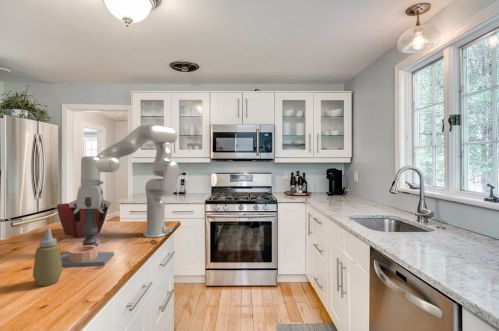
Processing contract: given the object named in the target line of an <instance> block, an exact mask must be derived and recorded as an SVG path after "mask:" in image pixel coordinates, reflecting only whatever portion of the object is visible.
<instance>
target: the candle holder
mask: <svg viewBox="0 0 499 331" xmlns="http://www.w3.org/2000/svg"><path fill="white" fill-rule="evenodd" d="M85 205H86V207H88V208H89V207H91V205H92V202H91V197H85ZM96 211H97V209H85V210H84V212H85V223H84V226H83V230H82V234H83V236H84V237H83V238H84V239H83V241H82V245H81V246H85V245H93V246H97V247H98V245H99V244H98V243H97V242H98V240H97V239H96V235H97V232H98V229H97V225H96V221H95V212H96Z"/></svg>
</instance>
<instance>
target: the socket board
mask: <svg viewBox="0 0 499 331" xmlns="http://www.w3.org/2000/svg"><path fill="white" fill-rule="evenodd" d="M98 251H99V250H98V247H97V246H93V245H85V246H82V245H80V246H76V247H71V248H70V249H69V250H68V253H63V254H61V263H62V268H76V267H77V268H78V267H79V268H80V267H98V266H99V267H104V266H105V265H106V264H107V263H108V262H109V261H110V260H111V259H112V258H113V257H114V255H115V251H104V252H103V251H102V252H101V251H99V252H98Z"/></svg>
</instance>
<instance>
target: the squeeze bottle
mask: <svg viewBox="0 0 499 331" xmlns="http://www.w3.org/2000/svg"><path fill="white" fill-rule="evenodd" d="M51 230H52V229H51V228H47V229H45V231H44V232H45V233H44V237H43V239H41V240H39V246H38V247H37V248H36V249H35V255H34V265H33V270H32V276H33V279H34V282H35V285H36V286H39V287H44V286H45V287H46V286H51V285H54V284H56V283H58V282H59V280H60V277H61V275H62V272H63V267H62V263H61V255H62V254H61V247H60V245H59V244H58V243H57V238H53V235H52V231H51Z"/></svg>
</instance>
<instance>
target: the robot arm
mask: <svg viewBox="0 0 499 331" xmlns="http://www.w3.org/2000/svg"><path fill="white" fill-rule="evenodd" d="M177 139H178V133H177V131H176V130H175V129H174V128H173V127H168V126H164V125H158V124H152V123H151V124H141V125H139V126H137V127H136V128H134V129H133V130H132V131H130V133H128V134H126V136H125V137H124V138H122V139H121V140H119V141H117V142H116V143H114V144H112V145H110V146H108V147H107V148H105V149H104V150H102V151H101V152H100V153H99V154H97V155H96V156H92V155H87V156H86V155H85V156H82V157H81V158H80V160H81V161H80V186H79V187H78V190H77V193H76V194H77V195H76V199H75V200H73V201H71V202H68V203H69V204H68V205H69V206H70V208H71V210H72V211H73V212H74V213H75V220H76V222H79V221H80V218H81V213H80V212H79V211H80V210H81V209H98V210H99V211H100V214H99V222H102V221H103V220H104V212H105V211H106V210H107V209H109V208H110V206H111V205H112V202H109V201H107V200H106V199H104V191H103V186H102V185H104V181H103V180H101V173H115V172H117V171H118V170H119V168H120V167H121V163H120V161H119V159H120V158H123V157H127V156H130V155H131V154H134V153H136V152H137V151H138V150H139V149H140V148H141V147H142V146H143V145H145V144H146V143H147V142H149V141H150V142H152V143H153V144H154V146H155V149H156V153H155V157H154V161H153V165H152V174H153V175H154V176H156V177H159V178H150V179H149V180H147V182H146V183H145V186H144V187H145V189H144V190H145V196H146V231H145V232H143V237H146V238H161V237H164V236H167V234H168V232H169V233H170V232H173V227H167V226H166V225H165V213H166V212H165V210H166V208H165V206H166V204H165V203H166V201H165V198H166V197H167V198H168V197H171V196H173V195H174V193H175V190H176V187H177V183H178V178H179V174H180V167H179V164H178V163H177V161H176V160H175V161H174V160H172V154H173V153H172V152H173V151H172V148H171V146H170V144H172V143H175V142H176V141H177ZM85 197H91V202H92V205H91V207H89V208H88V207H86V205H85ZM75 203H76V206H77V209H76V208H75V207H74V204H75ZM104 204H106V207H105V208H103V206H104ZM107 211H108V210H107ZM104 221H105V220H104Z"/></svg>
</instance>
